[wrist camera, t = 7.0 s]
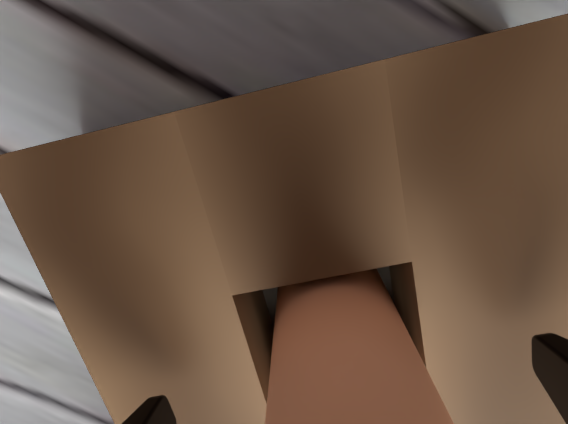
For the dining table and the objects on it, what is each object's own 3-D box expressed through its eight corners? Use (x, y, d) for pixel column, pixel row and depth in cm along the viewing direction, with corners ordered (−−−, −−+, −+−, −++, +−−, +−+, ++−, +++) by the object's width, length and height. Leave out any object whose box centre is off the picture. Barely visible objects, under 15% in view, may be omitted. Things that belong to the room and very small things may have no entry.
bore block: (511, 32, 11) (630, -2, 7) (523, 394, 15) (601, 498, 11) (81, 138, 12) (-17, 159, 8) (203, 441, 16) (175, 546, 12)
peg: (386, 319, 13) (514, 621, 5) (290, 337, 13) (284, 643, 6) (370, 229, 12) (498, 441, 4) (267, 250, 12) (223, 481, 5)
